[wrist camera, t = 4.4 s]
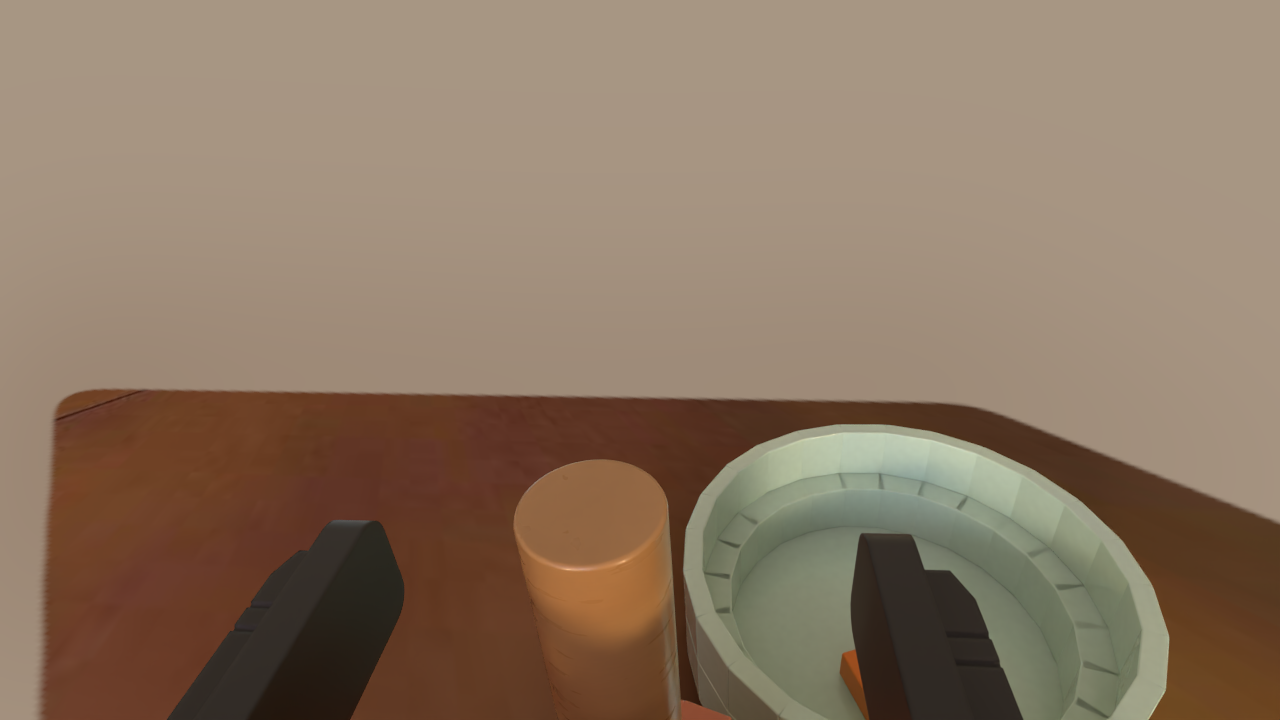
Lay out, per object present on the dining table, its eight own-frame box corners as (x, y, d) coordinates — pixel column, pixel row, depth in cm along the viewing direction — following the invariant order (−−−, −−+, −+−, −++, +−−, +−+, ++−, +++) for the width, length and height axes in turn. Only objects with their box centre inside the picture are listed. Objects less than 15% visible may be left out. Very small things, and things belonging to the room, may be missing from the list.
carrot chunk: (897, 655, 29) (901, 635, 28) (936, 715, 27) (942, 695, 26) (838, 672, 29) (841, 652, 28) (873, 735, 26) (877, 714, 25)
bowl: (1017, 512, 36) (1043, 424, 33) (1222, 901, 22) (1305, 808, 18) (694, 506, 39) (691, 422, 36) (679, 855, 24) (670, 764, 21)
